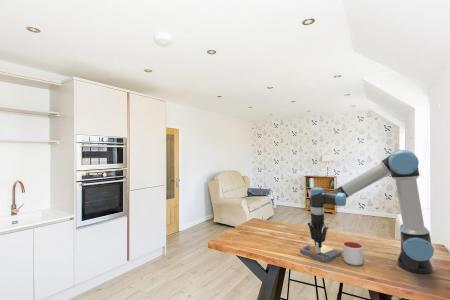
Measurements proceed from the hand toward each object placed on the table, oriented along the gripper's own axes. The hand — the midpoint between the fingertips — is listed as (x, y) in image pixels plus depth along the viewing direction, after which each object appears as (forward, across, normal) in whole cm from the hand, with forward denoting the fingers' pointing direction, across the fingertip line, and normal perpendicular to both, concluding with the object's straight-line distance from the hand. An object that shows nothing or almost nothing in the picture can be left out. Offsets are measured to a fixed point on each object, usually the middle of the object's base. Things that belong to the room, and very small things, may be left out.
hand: (318, 252), depth 147 cm
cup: (+4, -15, -11) cm, 19 cm away
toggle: (+2, +3, 0) cm, 3 cm away
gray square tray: (+4, +3, -6) cm, 8 cm away
